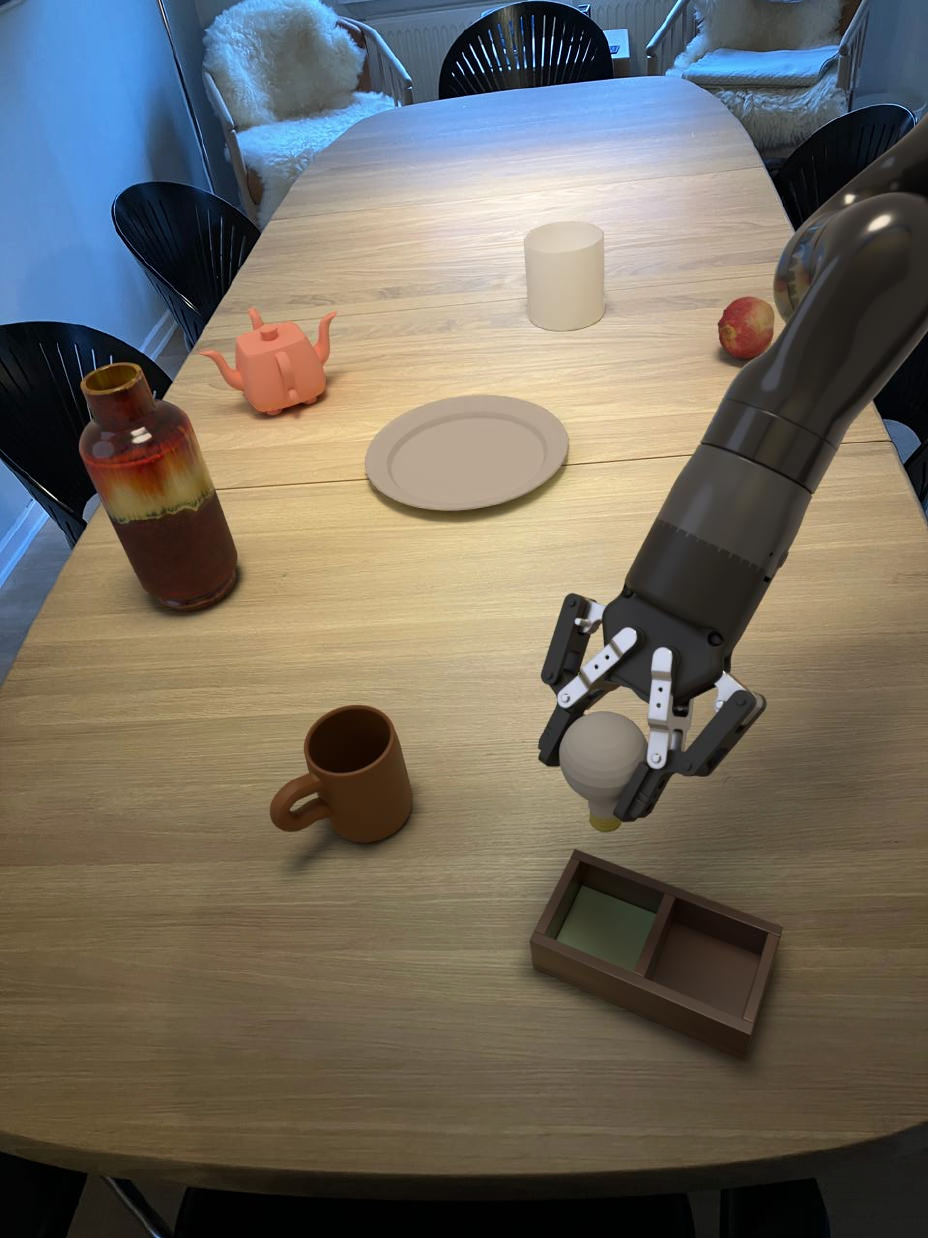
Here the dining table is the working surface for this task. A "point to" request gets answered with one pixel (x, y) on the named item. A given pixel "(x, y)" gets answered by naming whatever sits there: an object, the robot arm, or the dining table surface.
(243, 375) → the teapot
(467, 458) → the plate
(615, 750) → the light bulb
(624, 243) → the dining table surface
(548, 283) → the cup
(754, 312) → the fruit
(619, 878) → the tray
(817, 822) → the dining table surface
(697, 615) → the robot arm
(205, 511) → the vase
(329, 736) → the mug
